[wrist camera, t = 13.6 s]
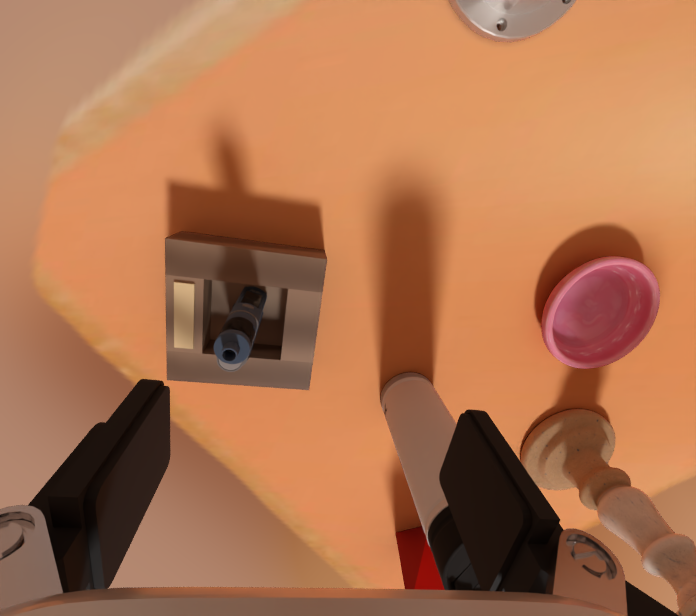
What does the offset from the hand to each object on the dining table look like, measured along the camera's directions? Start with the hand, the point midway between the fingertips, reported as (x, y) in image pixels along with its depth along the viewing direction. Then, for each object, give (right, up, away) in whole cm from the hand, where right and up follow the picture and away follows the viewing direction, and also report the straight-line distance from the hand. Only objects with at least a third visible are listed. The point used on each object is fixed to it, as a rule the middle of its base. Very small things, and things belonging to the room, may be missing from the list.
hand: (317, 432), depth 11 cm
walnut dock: (-9, +4, +24) cm, 26 cm away
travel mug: (+8, -6, +30) cm, 31 cm away
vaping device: (-8, +4, +23) cm, 25 cm away
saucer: (+27, +4, +29) cm, 40 cm away
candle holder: (+29, -14, +35) cm, 48 cm away
